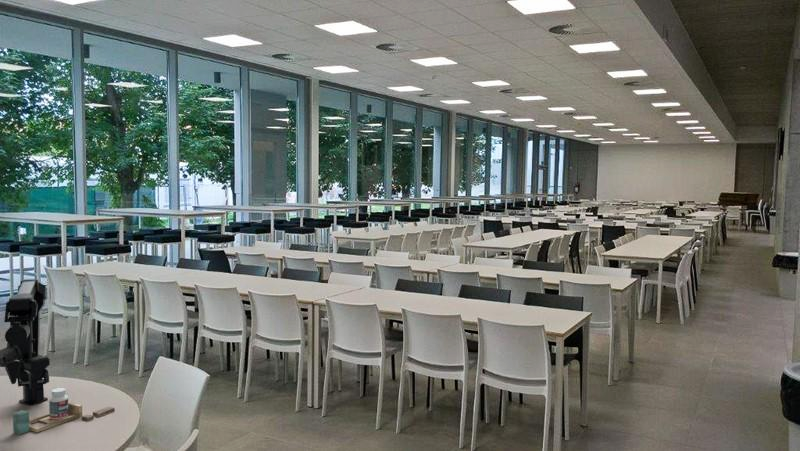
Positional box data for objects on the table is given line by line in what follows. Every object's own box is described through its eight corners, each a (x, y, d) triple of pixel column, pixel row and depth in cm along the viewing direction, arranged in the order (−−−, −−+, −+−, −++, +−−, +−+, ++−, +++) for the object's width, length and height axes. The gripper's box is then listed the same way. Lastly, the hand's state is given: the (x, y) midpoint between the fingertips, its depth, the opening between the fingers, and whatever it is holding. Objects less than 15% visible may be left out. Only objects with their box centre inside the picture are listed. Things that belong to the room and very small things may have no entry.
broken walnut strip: (81, 419, 202) (81, 416, 202) (108, 409, 211) (108, 406, 211) (88, 420, 201) (88, 417, 201) (114, 410, 210) (114, 408, 210)
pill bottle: (59, 420, 199) (59, 393, 199) (45, 419, 200) (45, 391, 200) (72, 414, 204) (71, 388, 204) (58, 413, 206) (57, 386, 205)
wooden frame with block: (7, 430, 192) (6, 411, 191) (64, 410, 209) (63, 393, 208) (26, 436, 188) (25, 416, 188) (82, 415, 205) (82, 397, 204)
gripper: (-24, 338, 193) (-22, 388, 194) (15, 347, 185) (16, 399, 186) (12, 331, 203) (13, 378, 204) (50, 338, 195) (51, 388, 196)
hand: (22, 386), depth 197 cm, fingers open, 9 cm apart
